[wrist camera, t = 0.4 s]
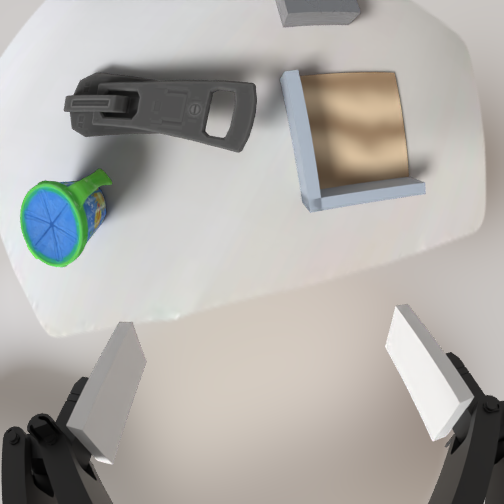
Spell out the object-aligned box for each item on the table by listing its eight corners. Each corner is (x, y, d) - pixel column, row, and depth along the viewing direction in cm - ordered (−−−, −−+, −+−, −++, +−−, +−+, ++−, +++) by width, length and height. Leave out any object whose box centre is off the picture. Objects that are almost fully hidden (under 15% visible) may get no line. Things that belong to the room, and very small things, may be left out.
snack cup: (105, 143, 34) (65, 150, 24) (144, 206, 37) (113, 230, 28) (41, 204, 37) (1, 225, 27) (75, 257, 40) (41, 288, 31)
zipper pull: (245, 159, 29) (47, 138, 27) (245, 155, 35) (74, 135, 33) (263, 79, 26) (59, 69, 23) (260, 88, 32) (84, 75, 30)
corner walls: (279, 79, 31) (284, 71, 27) (392, 73, 30) (410, 67, 26) (302, 202, 38) (310, 212, 33) (407, 186, 37) (425, 193, 32)
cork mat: (291, 77, 31) (292, 77, 31) (392, 73, 30) (394, 72, 30) (311, 189, 37) (312, 190, 36) (406, 176, 36) (408, 176, 36)
